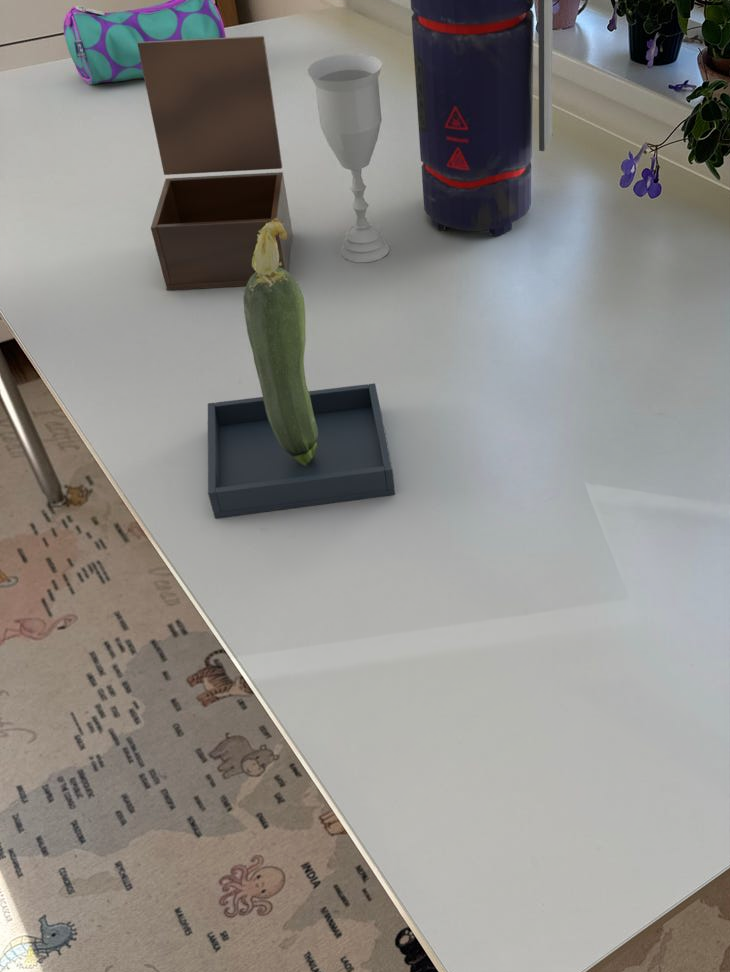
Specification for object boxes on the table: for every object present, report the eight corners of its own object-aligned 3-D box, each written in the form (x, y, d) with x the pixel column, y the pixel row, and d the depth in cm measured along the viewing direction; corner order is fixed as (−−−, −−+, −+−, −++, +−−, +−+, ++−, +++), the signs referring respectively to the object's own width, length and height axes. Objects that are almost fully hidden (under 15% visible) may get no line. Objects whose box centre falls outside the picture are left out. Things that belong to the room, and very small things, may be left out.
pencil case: (88, 96, 142) (66, 18, 135) (75, 76, 148) (53, -1, 141) (234, 69, 148) (220, -8, 141) (216, 50, 154) (202, -24, 147)
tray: (214, 518, 81) (207, 493, 79) (213, 427, 89) (207, 403, 87) (395, 494, 83) (392, 469, 81) (377, 407, 91) (375, 382, 89)
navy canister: (409, 234, 113) (385, -98, 91) (442, 187, 120) (426, -129, 98) (534, 248, 110) (539, -91, 88) (558, 199, 118) (569, -124, 96)
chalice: (370, 273, 107) (350, 86, 94) (318, 257, 110) (291, 73, 96) (410, 244, 111) (397, 61, 98) (359, 229, 114) (339, 49, 101)
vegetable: (264, 465, 85) (213, 226, 70) (290, 435, 87) (246, 199, 73) (312, 477, 84) (270, 237, 69) (337, 446, 86) (301, 209, 72)
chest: (287, 283, 106) (276, 220, 101) (166, 290, 106) (150, 227, 101) (292, 232, 114) (282, 171, 109) (180, 239, 113) (165, 178, 108)
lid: (263, 36, 101) (264, 35, 102) (136, 42, 101) (138, 41, 101) (281, 168, 108) (282, 167, 109) (163, 175, 108) (165, 173, 108)
